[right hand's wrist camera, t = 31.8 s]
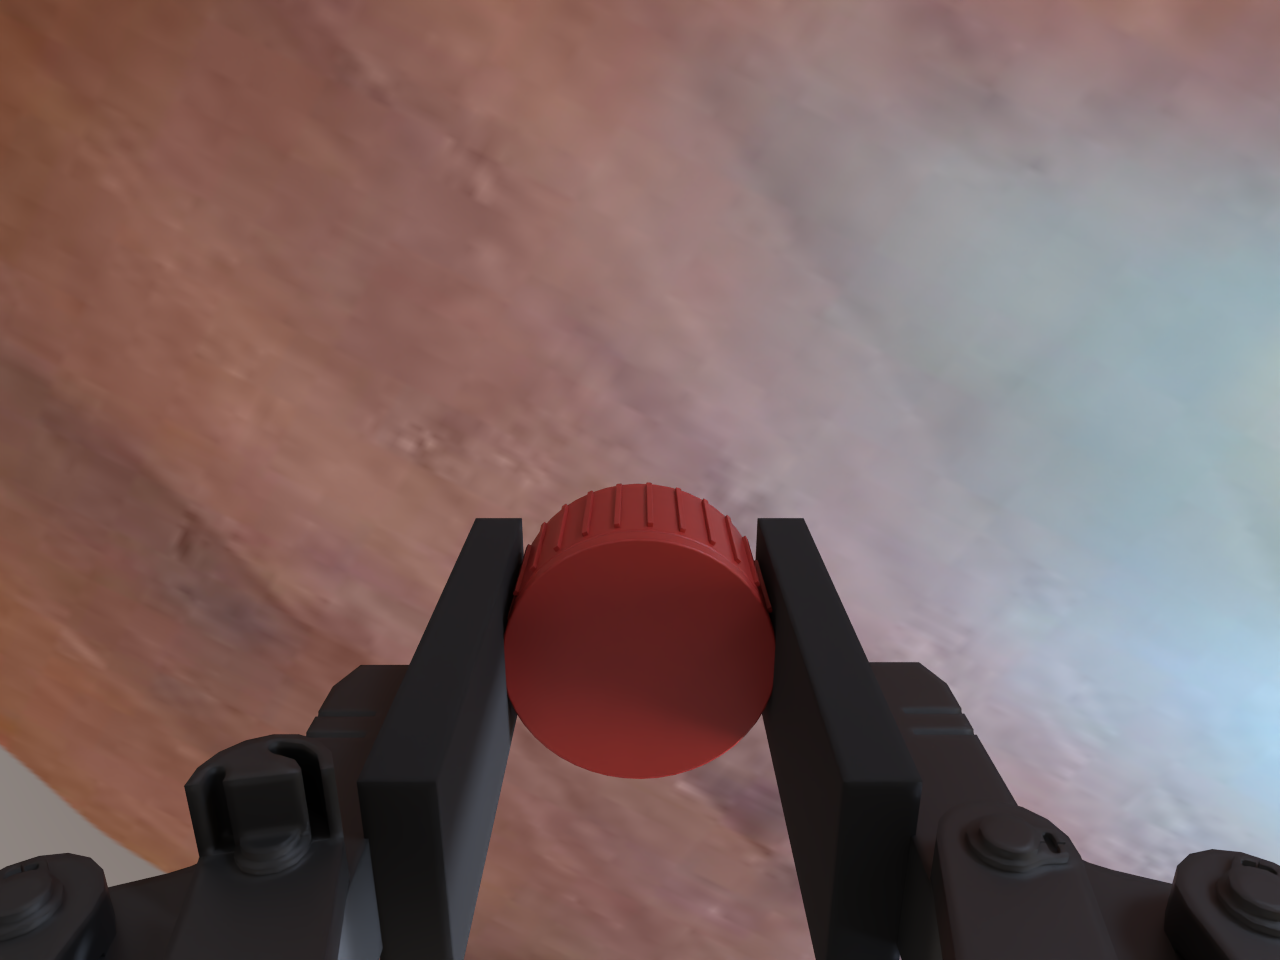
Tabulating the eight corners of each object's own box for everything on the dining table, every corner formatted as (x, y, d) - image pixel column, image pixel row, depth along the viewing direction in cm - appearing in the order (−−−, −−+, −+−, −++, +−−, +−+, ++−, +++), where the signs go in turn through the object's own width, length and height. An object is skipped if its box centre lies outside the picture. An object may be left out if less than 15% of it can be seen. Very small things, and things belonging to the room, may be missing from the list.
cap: (495, 671, 15) (472, 751, 13) (545, 452, 14) (529, 504, 12) (722, 720, 16) (735, 806, 14) (793, 512, 14) (819, 572, 12)
